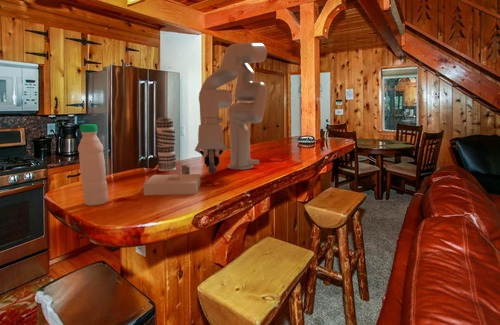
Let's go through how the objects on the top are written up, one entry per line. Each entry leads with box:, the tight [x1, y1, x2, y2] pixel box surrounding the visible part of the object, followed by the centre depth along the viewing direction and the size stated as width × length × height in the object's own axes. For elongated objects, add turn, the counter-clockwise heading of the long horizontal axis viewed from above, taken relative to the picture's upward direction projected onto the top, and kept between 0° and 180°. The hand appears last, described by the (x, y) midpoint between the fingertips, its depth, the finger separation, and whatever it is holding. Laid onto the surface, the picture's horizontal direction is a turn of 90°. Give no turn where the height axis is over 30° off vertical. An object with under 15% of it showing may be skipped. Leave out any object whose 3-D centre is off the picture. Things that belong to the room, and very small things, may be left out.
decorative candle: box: [154, 117, 177, 172], centre depth 145 cm, size 9×9×25 cm
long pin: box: [207, 150, 217, 174], centre depth 124 cm, size 3×3×11 cm
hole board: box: [143, 173, 201, 196], centre depth 111 cm, size 18×14×4 cm
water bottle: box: [77, 123, 109, 207], centre depth 94 cm, size 7×7×25 cm
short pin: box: [181, 164, 191, 174], centre depth 128 cm, size 3×3×6 cm
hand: (212, 165), depth 125 cm, fingers closed on long pin, 3 cm apart
